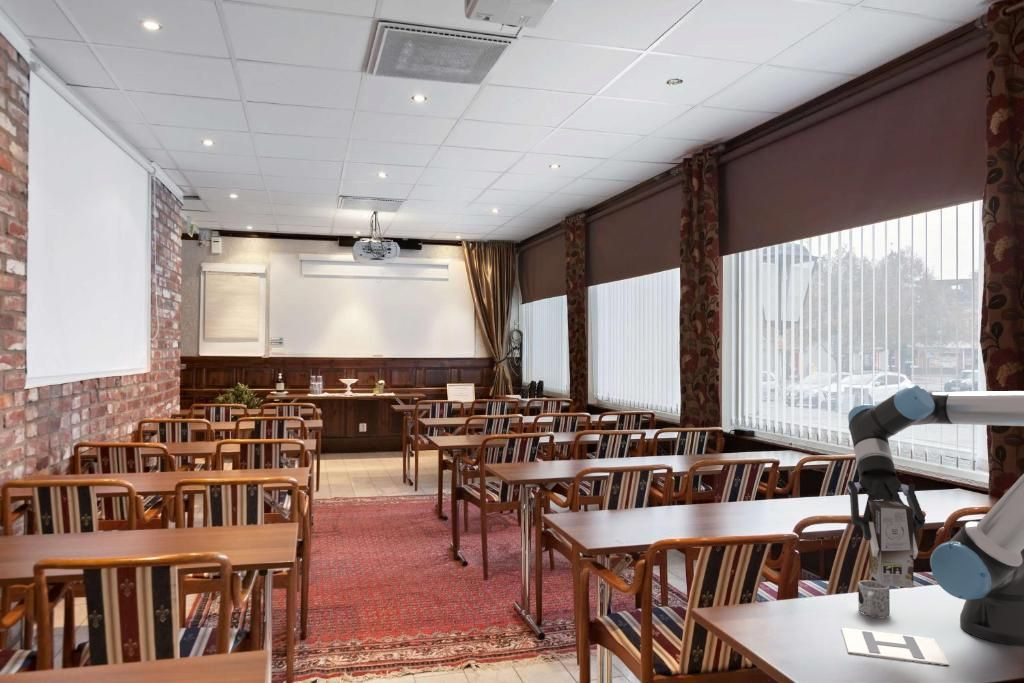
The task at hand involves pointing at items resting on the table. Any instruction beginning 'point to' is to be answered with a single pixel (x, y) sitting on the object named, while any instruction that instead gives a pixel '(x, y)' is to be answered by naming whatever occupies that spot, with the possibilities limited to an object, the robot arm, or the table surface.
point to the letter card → (893, 646)
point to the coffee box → (892, 543)
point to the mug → (873, 598)
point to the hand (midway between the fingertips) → (895, 554)
